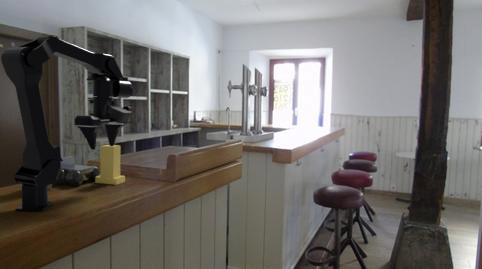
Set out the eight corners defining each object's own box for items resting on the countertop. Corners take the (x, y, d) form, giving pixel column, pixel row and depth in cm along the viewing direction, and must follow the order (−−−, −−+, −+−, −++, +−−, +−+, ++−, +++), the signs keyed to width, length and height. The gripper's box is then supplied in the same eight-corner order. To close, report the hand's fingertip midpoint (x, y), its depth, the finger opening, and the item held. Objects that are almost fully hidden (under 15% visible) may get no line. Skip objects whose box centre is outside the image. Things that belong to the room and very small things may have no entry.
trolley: (80, 186, 111) (80, 161, 110) (51, 183, 113) (50, 159, 113) (99, 180, 120) (100, 157, 120) (72, 177, 123) (72, 155, 122)
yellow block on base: (116, 184, 115) (116, 147, 114) (95, 182, 117) (95, 145, 116) (124, 181, 120) (125, 145, 119) (104, 179, 122) (104, 144, 121)
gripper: (107, 96, 95) (107, 153, 97) (142, 98, 113) (141, 146, 115) (72, 95, 98) (73, 150, 99) (112, 97, 116) (112, 144, 117)
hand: (102, 147), depth 107 cm, fingers open, 9 cm apart
